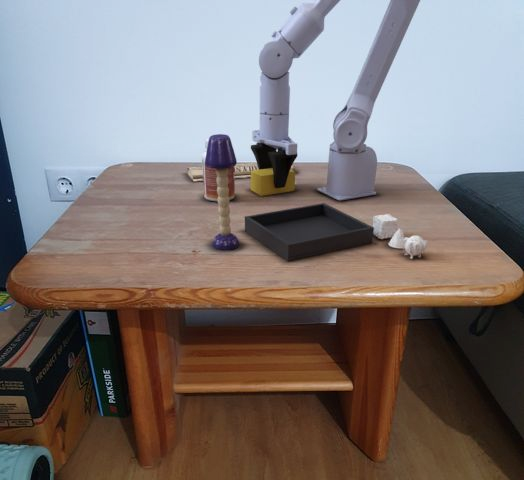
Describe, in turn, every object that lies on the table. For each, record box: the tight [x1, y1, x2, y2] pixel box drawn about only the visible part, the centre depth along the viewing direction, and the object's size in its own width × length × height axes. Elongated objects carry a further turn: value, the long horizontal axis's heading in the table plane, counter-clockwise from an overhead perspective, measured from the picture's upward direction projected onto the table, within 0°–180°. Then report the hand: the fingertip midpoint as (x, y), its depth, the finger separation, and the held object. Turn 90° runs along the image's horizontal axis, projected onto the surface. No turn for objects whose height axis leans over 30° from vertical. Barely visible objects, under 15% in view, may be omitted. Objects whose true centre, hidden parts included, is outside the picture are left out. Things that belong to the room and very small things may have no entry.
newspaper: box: [186, 162, 294, 182], centre depth 121 cm, size 24×7×2 cm, turn 108°
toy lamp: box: [205, 133, 240, 251], centre depth 81 cm, size 5×5×17 cm
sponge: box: [250, 168, 296, 197], centre depth 110 cm, size 8×4×4 cm, turn 119°
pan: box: [244, 202, 374, 262], centre depth 88 cm, size 16×14×3 cm
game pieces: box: [371, 213, 428, 259], centre depth 85 cm, size 12×3×3 cm, turn 20°
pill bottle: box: [201, 137, 236, 203], centre depth 103 cm, size 6×6×11 cm
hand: (272, 183), depth 110 cm, fingers open, 5 cm apart
